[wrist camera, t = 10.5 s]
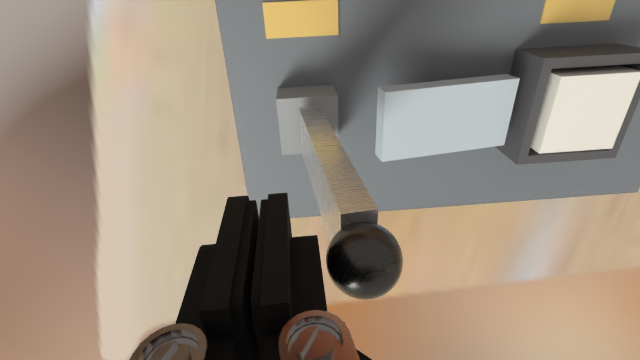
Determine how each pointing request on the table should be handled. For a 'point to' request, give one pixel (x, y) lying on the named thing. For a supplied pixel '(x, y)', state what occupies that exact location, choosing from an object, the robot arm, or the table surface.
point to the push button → (584, 108)
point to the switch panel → (415, 67)
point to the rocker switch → (443, 116)
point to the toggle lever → (347, 214)
